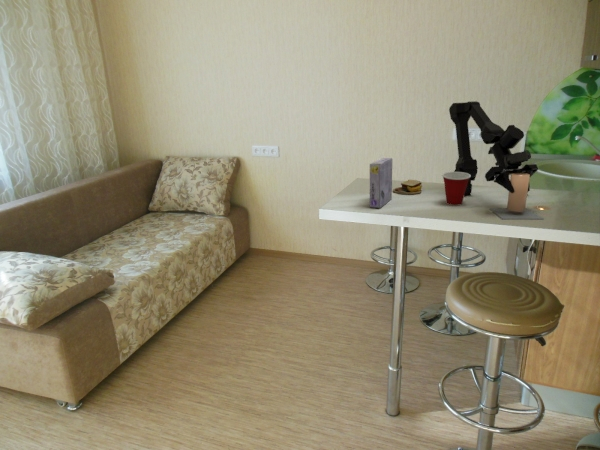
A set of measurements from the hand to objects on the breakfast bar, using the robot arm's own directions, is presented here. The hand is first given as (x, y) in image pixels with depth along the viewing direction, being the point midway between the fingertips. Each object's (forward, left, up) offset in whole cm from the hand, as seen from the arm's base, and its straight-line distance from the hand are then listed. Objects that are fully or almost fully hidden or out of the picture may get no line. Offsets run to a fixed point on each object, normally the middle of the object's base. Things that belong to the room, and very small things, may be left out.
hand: (520, 191), depth 158 cm
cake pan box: (-47, +18, -9) cm, 52 cm away
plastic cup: (-18, +17, -9) cm, 27 cm away
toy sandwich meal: (-34, +39, -9) cm, 53 cm away
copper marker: (+13, +10, -9) cm, 18 cm away
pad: (0, +1, -9) cm, 9 cm away
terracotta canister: (0, +1, -7) cm, 7 cm away
